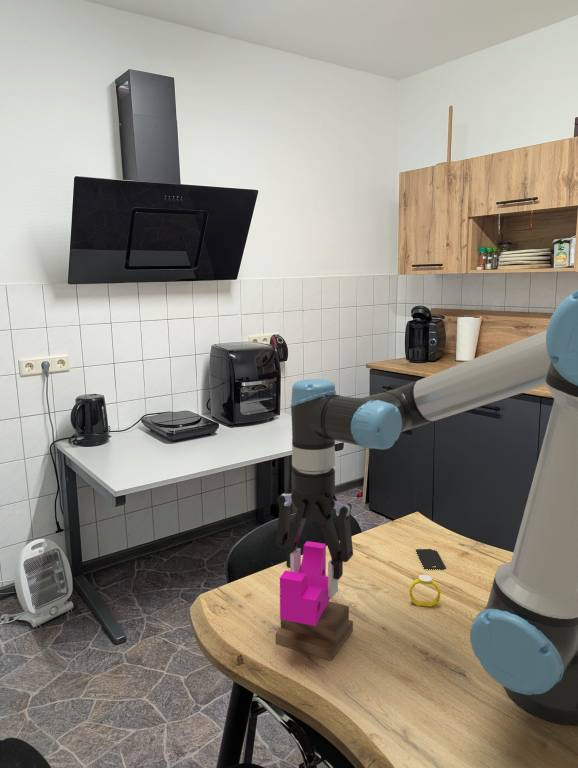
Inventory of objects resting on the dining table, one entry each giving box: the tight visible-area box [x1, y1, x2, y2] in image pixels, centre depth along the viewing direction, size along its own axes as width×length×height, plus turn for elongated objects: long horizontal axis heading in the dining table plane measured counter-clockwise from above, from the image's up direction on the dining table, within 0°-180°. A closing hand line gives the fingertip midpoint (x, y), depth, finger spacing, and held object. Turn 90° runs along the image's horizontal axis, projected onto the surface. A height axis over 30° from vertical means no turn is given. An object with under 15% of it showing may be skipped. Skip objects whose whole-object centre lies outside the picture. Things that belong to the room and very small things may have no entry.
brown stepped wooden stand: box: [275, 600, 354, 661], centre depth 107 cm, size 11×10×6 cm
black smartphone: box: [415, 548, 447, 571], centre depth 138 cm, size 5×1×10 cm
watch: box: [408, 574, 441, 608], centre depth 118 cm, size 6×3×6 cm, turn 80°
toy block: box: [279, 540, 331, 626], centre depth 104 cm, size 15×6×8 cm, turn 161°
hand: (314, 588), depth 106 cm, fingers closed on toy block, 7 cm apart
